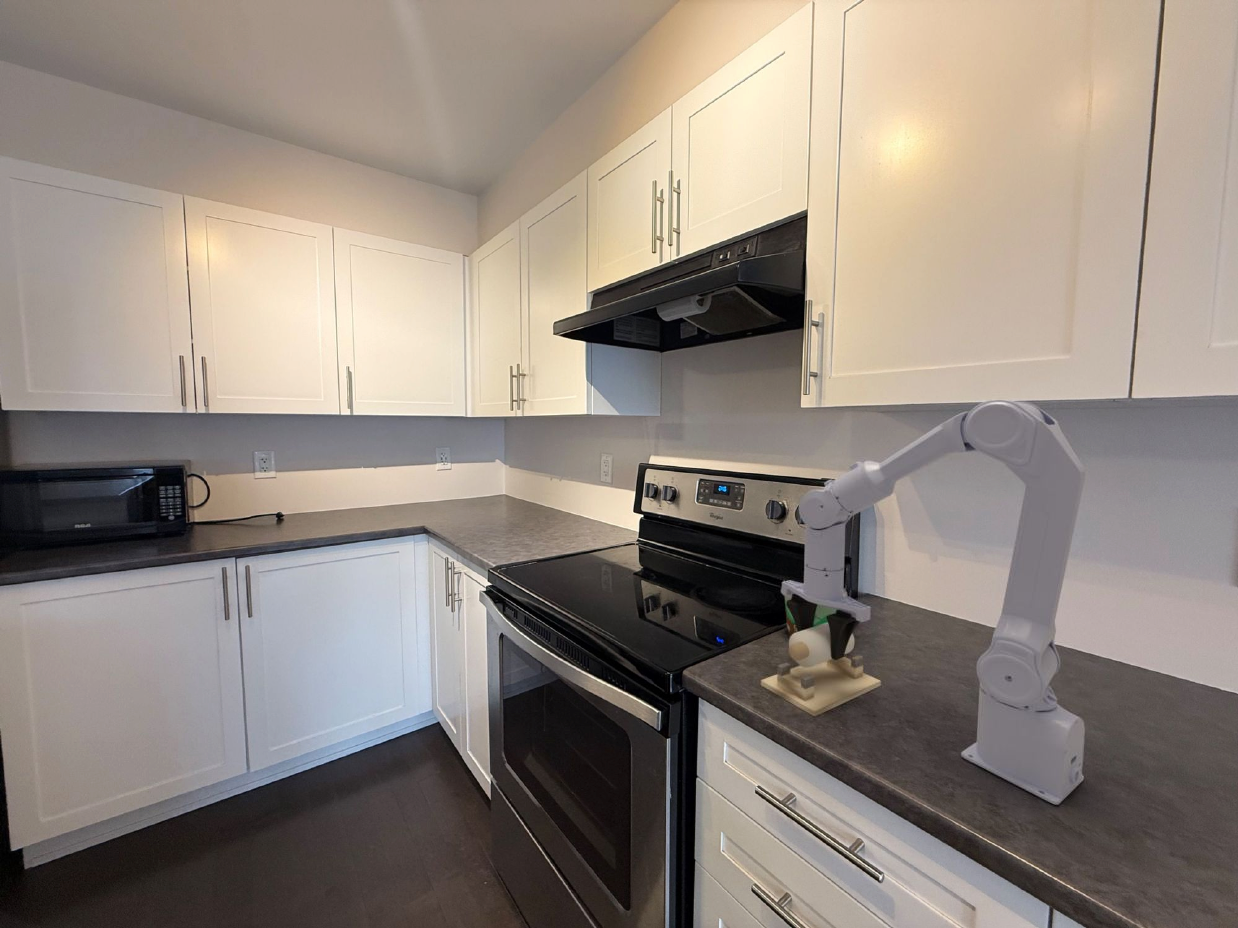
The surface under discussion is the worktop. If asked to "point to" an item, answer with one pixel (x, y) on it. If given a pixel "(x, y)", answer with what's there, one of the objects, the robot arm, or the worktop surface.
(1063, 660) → the worktop surface
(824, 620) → the food container
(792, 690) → the cradle
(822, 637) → the white cylinder with cap
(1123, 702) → the worktop surface
